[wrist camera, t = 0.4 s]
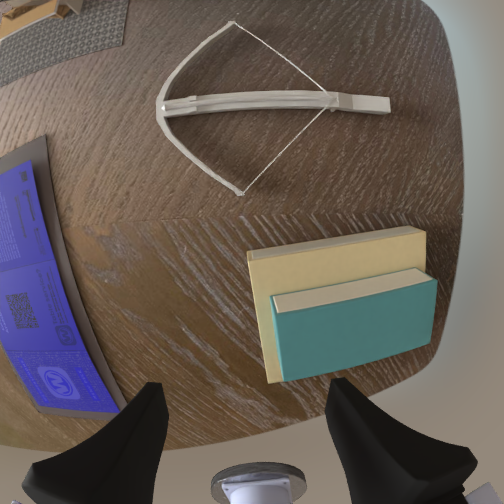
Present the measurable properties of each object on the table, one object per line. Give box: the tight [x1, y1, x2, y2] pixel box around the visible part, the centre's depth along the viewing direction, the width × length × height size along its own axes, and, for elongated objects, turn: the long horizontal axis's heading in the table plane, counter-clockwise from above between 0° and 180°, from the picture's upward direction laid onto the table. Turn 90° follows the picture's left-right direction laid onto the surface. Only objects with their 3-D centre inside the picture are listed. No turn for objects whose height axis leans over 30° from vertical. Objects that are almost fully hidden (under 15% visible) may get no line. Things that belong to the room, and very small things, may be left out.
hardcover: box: [247, 225, 426, 383], centre depth 21 cm, size 10×13×2 cm
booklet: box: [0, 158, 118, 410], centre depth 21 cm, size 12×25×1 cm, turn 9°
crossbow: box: [156, 21, 391, 196], centre depth 18 cm, size 16×13×2 cm
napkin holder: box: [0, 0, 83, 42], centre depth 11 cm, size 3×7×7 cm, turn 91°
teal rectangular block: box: [269, 267, 437, 382], centre depth 18 cm, size 5×11×3 cm, turn 99°
